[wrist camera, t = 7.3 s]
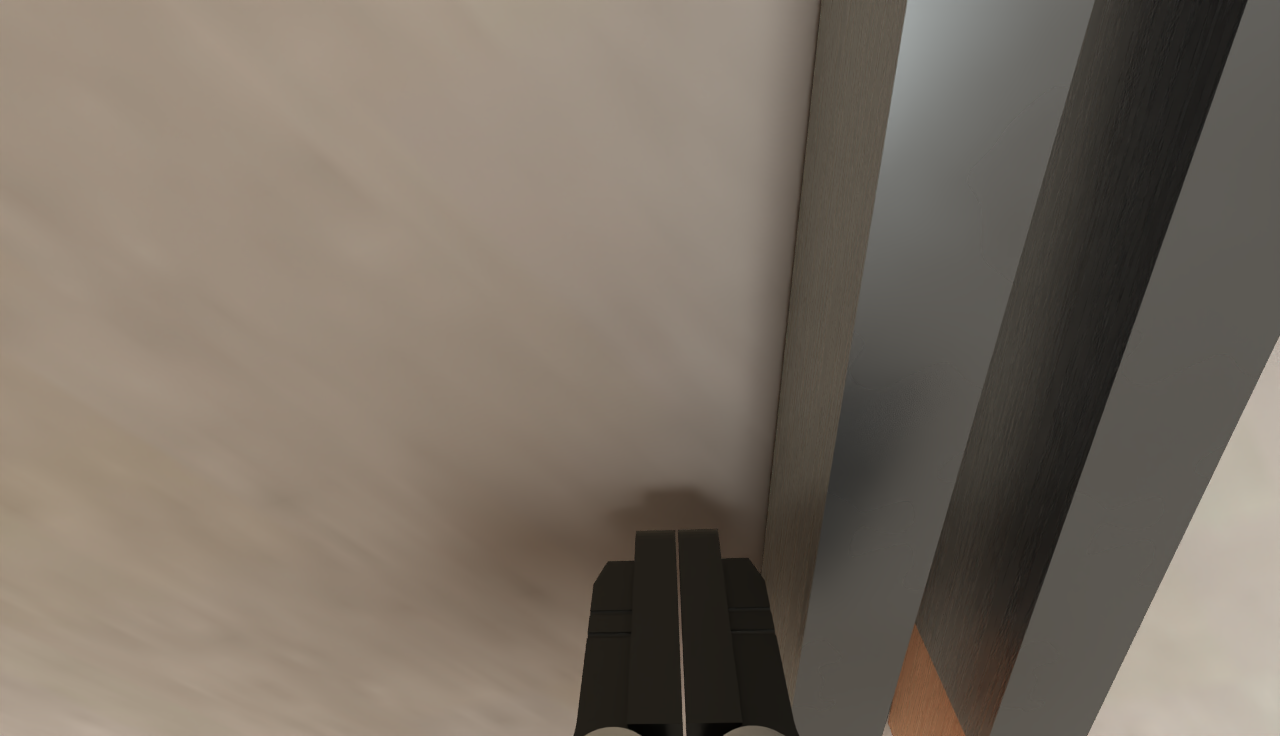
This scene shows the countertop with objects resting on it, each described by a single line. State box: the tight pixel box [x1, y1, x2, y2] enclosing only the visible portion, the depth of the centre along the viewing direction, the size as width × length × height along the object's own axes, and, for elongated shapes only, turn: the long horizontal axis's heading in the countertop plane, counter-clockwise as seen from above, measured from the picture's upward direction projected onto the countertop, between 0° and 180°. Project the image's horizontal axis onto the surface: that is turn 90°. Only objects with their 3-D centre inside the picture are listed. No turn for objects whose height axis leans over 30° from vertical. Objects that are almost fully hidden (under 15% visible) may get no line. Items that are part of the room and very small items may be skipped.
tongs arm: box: [761, 0, 1095, 736], centre depth 8 cm, size 24×2×3 cm, turn 1°
